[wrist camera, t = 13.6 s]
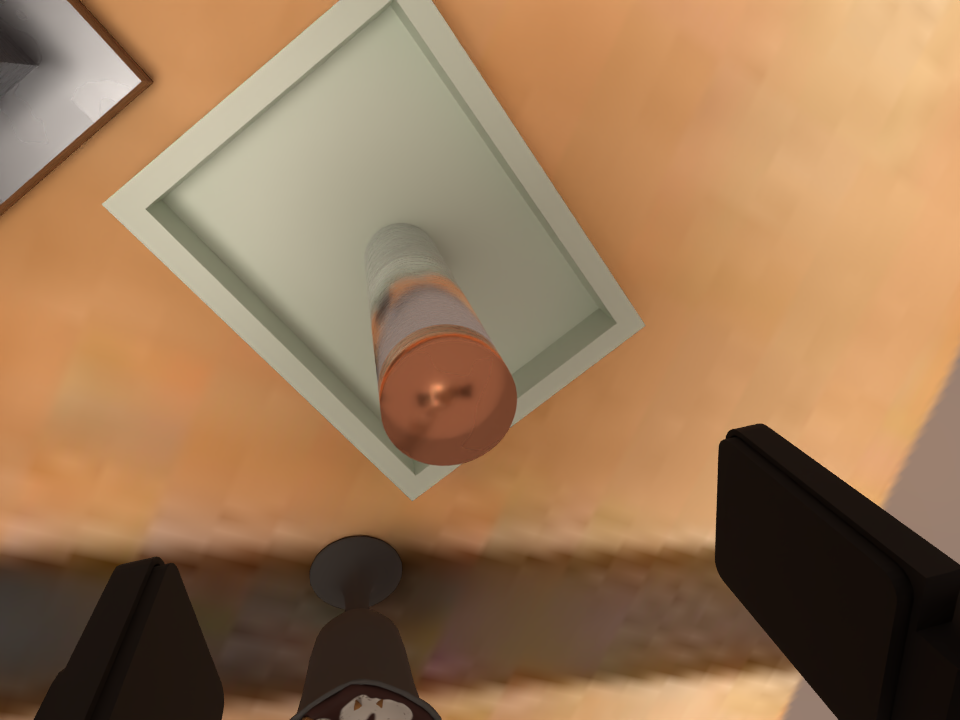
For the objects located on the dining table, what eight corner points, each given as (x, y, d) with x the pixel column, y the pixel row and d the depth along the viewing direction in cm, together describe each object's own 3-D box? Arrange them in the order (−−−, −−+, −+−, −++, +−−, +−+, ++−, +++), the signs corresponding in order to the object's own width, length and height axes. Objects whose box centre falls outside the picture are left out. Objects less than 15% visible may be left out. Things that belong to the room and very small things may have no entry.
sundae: (265, 581, 33) (208, 917, 20) (355, 500, 32) (361, 793, 19) (356, 638, 36) (362, 968, 22) (441, 564, 35) (501, 862, 21)
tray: (621, 306, 31) (645, 325, 28) (407, 469, 32) (412, 501, 30) (393, -35, 24) (398, -51, 21) (126, 193, 25) (101, 204, 22)
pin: (432, 217, 27) (510, 331, 14) (442, 288, 28) (522, 451, 15) (357, 229, 26) (368, 356, 14) (371, 300, 28) (392, 477, 15)
